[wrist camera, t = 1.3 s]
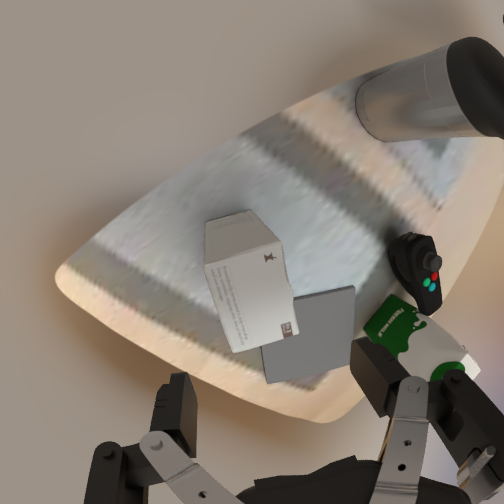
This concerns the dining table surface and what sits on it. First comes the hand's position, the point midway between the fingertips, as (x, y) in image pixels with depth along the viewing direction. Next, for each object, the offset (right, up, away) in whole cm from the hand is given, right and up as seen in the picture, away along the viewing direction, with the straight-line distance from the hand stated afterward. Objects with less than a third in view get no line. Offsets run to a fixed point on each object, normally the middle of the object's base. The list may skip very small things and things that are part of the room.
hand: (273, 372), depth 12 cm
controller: (+21, +4, +25) cm, 33 cm away
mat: (+7, -7, +26) cm, 28 cm away
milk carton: (+21, -5, +28) cm, 35 cm away
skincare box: (-3, +6, +22) cm, 23 cm away
